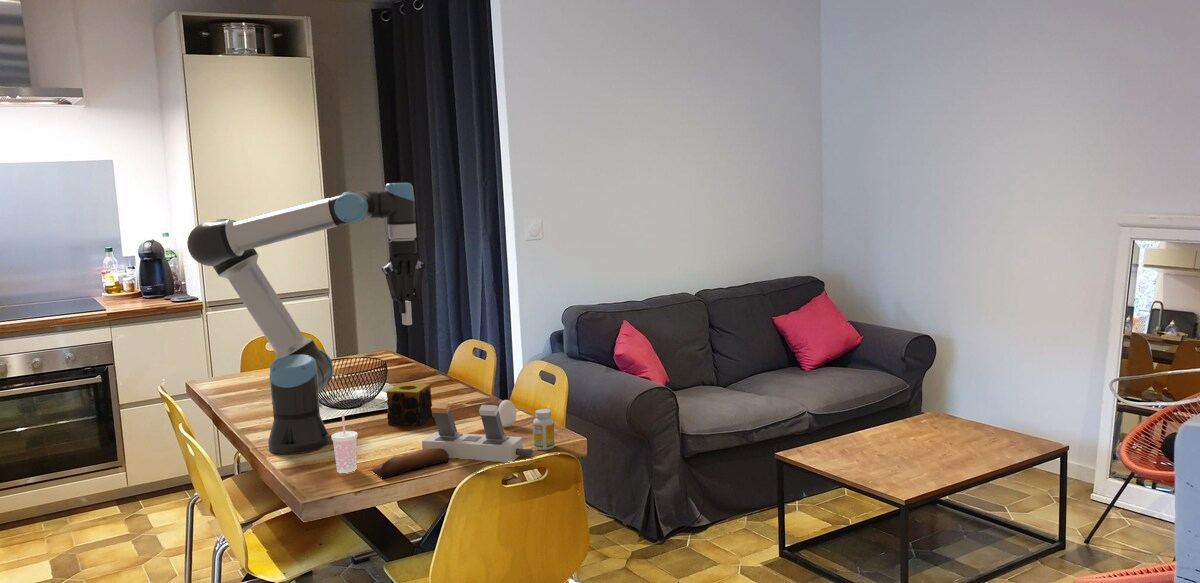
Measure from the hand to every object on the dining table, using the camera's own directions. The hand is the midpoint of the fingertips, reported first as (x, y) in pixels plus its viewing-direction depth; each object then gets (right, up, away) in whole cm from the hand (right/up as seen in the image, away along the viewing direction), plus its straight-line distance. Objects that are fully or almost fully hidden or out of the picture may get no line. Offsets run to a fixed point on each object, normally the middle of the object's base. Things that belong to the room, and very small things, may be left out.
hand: (407, 324), depth 251 cm
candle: (-1, -29, +10) cm, 30 cm away
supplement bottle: (+39, -31, -17) cm, 53 cm away
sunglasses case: (+7, -34, -30) cm, 46 cm away
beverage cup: (-8, -34, -31) cm, 47 cm away
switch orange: (+15, -27, -21) cm, 37 cm away
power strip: (+23, -32, -22) cm, 45 cm away
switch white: (+27, -27, -24) cm, 46 cm away
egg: (+28, -29, +2) cm, 40 cm away
